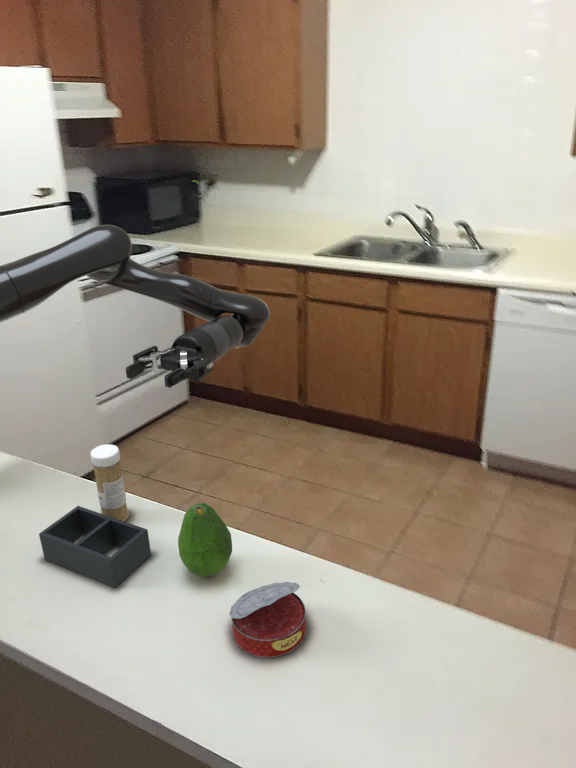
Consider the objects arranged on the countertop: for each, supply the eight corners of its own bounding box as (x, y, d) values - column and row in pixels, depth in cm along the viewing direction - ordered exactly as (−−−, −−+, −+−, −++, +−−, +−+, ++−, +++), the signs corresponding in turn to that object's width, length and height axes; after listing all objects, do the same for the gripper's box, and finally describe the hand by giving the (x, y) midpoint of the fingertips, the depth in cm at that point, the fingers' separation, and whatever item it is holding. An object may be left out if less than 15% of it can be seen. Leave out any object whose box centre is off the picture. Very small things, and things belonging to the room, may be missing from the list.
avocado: (171, 580, 99) (162, 513, 94) (199, 549, 106) (192, 485, 101) (218, 595, 96) (211, 527, 91) (244, 562, 102) (239, 496, 97)
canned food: (247, 680, 88) (206, 635, 83) (254, 618, 96) (216, 574, 92) (323, 655, 85) (284, 606, 80) (323, 592, 93) (287, 546, 89)
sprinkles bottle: (101, 514, 115) (89, 446, 110) (127, 508, 116) (117, 441, 111) (103, 529, 111) (90, 459, 106) (131, 523, 112) (120, 453, 107)
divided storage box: (44, 559, 104) (38, 533, 102) (82, 530, 111) (77, 505, 109) (115, 588, 98) (110, 561, 96) (151, 555, 105) (147, 529, 103)
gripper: (170, 323, 129) (112, 351, 116) (232, 333, 123) (177, 364, 110) (174, 359, 132) (118, 390, 119) (234, 371, 126) (182, 405, 113)
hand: (146, 377), depth 114 cm, fingers open, 8 cm apart
